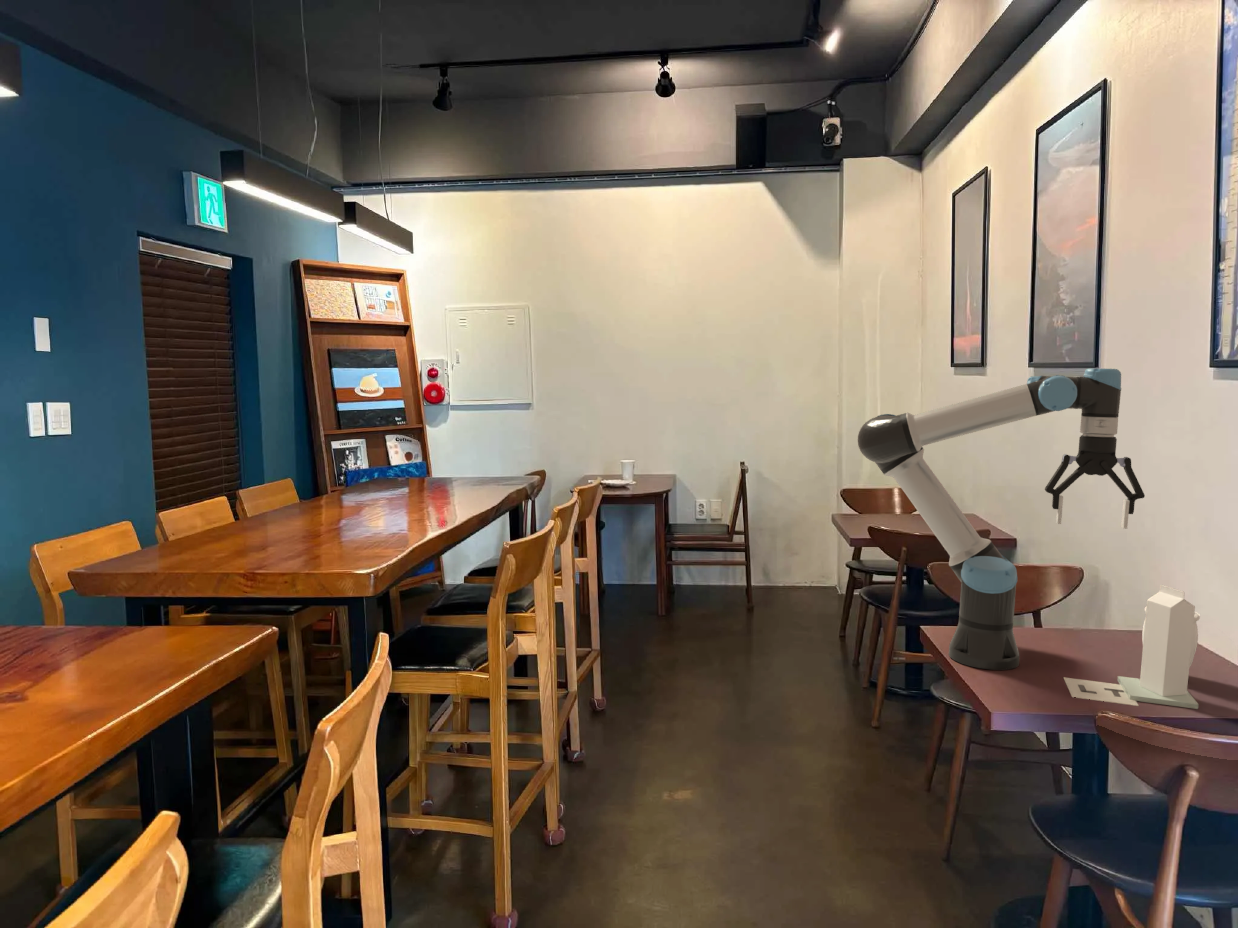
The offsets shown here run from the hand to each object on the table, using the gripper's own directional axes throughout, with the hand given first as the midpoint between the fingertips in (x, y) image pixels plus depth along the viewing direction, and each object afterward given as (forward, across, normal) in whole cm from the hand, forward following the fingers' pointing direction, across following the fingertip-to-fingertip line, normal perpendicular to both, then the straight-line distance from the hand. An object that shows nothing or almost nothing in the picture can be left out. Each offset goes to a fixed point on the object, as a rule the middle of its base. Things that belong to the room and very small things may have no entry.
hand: (1090, 525), depth 195 cm
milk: (+31, +12, -21) cm, 39 cm away
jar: (+32, +16, -7) cm, 36 cm away
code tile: (+32, 0, -24) cm, 40 cm away
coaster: (+32, +11, -21) cm, 40 cm away
